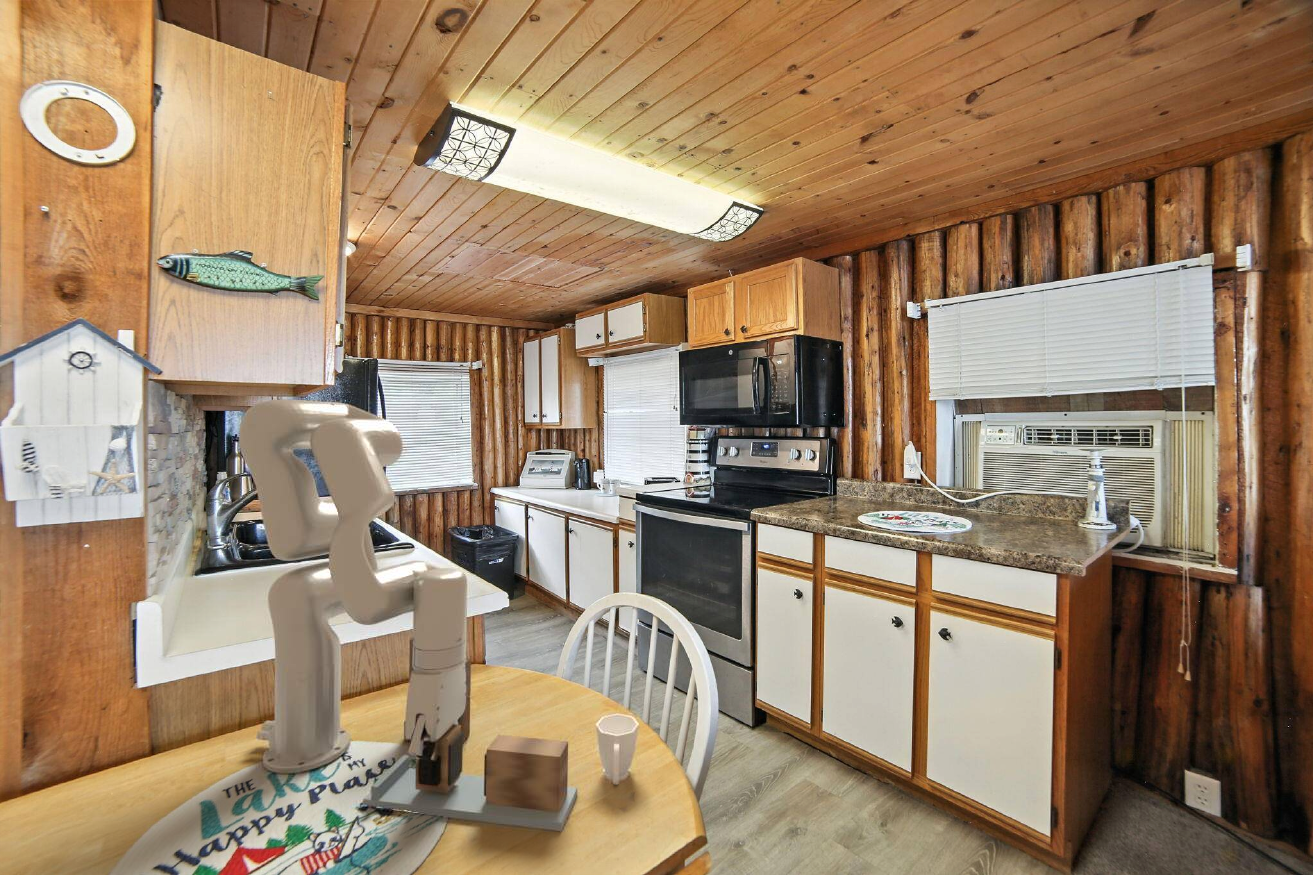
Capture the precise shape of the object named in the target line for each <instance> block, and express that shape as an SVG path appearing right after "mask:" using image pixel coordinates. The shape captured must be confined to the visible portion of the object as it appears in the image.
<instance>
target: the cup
mask: <svg viewBox="0 0 1313 875" xmlns="http://www.w3.org/2000/svg"><path fill="white" fill-rule="evenodd" d="M639 726H640V724H639V722H638V721H637V720H636V718H634V716H631V715H629V714H628V715H627V714H623V713H613V714H609V715H603V716H602V717H601V718H600V719H599V720H598V722H596V723H595V728H596V729H595V730H596V736H597V742H598V751H599V757H600V762H601V766H602V767H603V771H602V774H603V775H604V777H605V778H606V780H610V781H612V782H613V785H619V782H620V781H623V780H626V779H627V778H629V775H630V774H631V770H630V767H631V766H632V762H633V759H634V756H635V753H636V752H635V751H636V744H637V738H638V733H639V728H640V727H639Z"/></svg>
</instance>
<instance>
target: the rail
mask: <svg viewBox="0 0 1313 875" xmlns="http://www.w3.org/2000/svg"><path fill="white" fill-rule="evenodd" d="M415 782H416V768H412V767H410V755H406V754H405V755H402V756H401V757H399V759H398V760H397V761H396V762H394V764H392V765H391V767H389V769H388V770H386V771H385V773H384V774H382V775H381V777H380V778H378V779H377V780H376V781H375V782H374V783H373V784H372V785H371V789H370V790H371V791H369V793H368V794H367V795H365V796H364V798H363V799H362V806H363V805H371V806H379V807H382V808H391V809H392V808H393V809H398V810H407V811H411V812H418V813H423V814H427V815H426V816H431V815H438V816H437V817H440V816H445V817H444V818H448V817H450V818H449V819H455V820H456V819H458V820H467V821H473V822H481V823H482V822H483V823H488V824H489V823H490V824H498V825H505V826H512V827H520V828H521V827H523V828H530V829H537V830H538V829H539V830H548V831H553V832H554V831H555V832H563V828H564V826H565V825H566V821H567V819H568V817H569V815H570V813H571V811H572V809H573V806H574V804H575V801H576V799H577V798H578V797H577V796H578V786H572V785H567V796H566V799H565V801H564V803H563V805H562V807H561V809H560V811H559V812H550V811H542V810H534V809H525V808H517V807H508V806H500V805H491V804H486V796H484V775H483V776H482V775H473V774H464V773H460V778H459V779H458V780H457V781H456V783H455V784H454V785H453V786H452V788H451V789H450V790H449V791H448V793H441V792H433V791H425V790H416V789H415ZM423 814H422V815H423Z"/></svg>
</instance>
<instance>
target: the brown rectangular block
mask: <svg viewBox="0 0 1313 875" xmlns="http://www.w3.org/2000/svg"><path fill="white" fill-rule="evenodd" d="M426 734H427V735H428V733H427V732H426ZM463 744H464V743H463V732H461V725H455V724H453V725H452V726H451V727H450V728H449V729H448V730H447V731H446V732H445V733H444V734H443V735H442V736H441V737H440V743H439V752H438V757H441V779H440V783H439V785H438V786H432V785H424V784H419V782H418V763H419V759H417V758H416V757H415V769H416V782H415V789H416V790H425V791H433V792H441V793H448V791H449V790H450V789H451V788H452V786H453V785H454V784H455V783H456V781H457V780H458V779H459V778H460V774H462V772H463V750H464V749H463V747H464V746H463ZM425 746H426V747H429V748H431V749H432V742H425Z"/></svg>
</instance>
